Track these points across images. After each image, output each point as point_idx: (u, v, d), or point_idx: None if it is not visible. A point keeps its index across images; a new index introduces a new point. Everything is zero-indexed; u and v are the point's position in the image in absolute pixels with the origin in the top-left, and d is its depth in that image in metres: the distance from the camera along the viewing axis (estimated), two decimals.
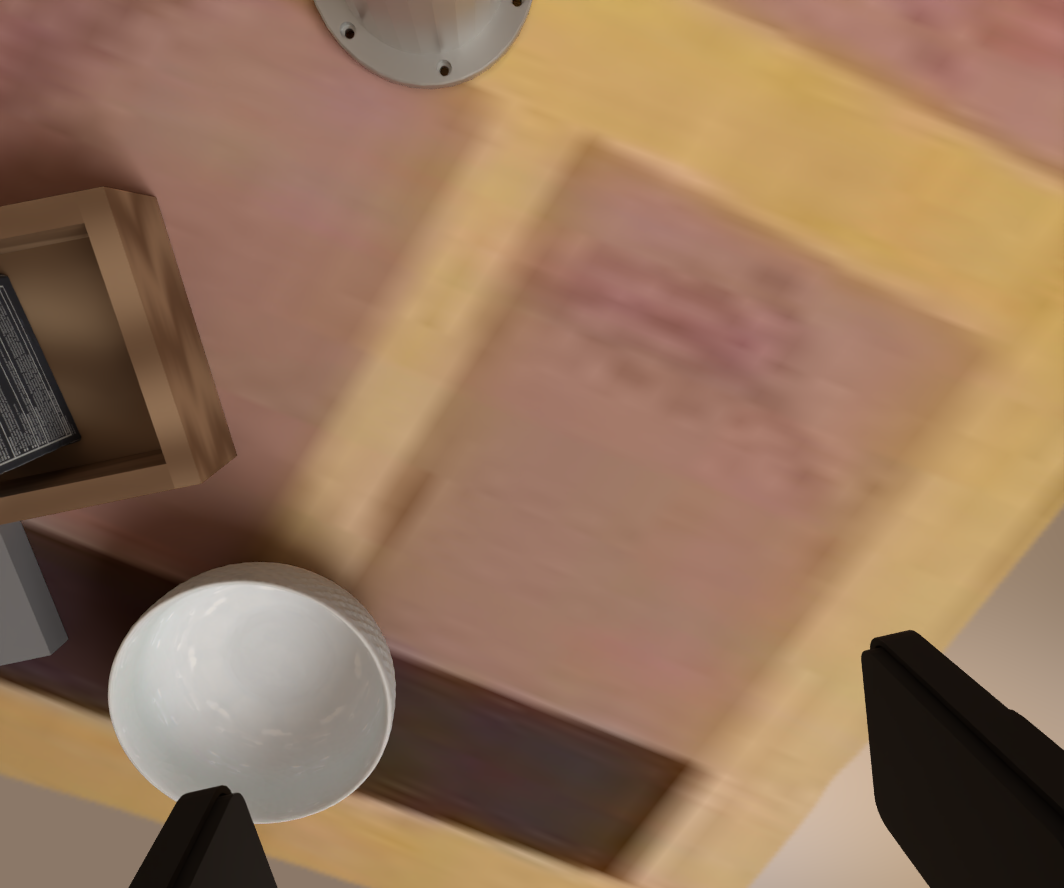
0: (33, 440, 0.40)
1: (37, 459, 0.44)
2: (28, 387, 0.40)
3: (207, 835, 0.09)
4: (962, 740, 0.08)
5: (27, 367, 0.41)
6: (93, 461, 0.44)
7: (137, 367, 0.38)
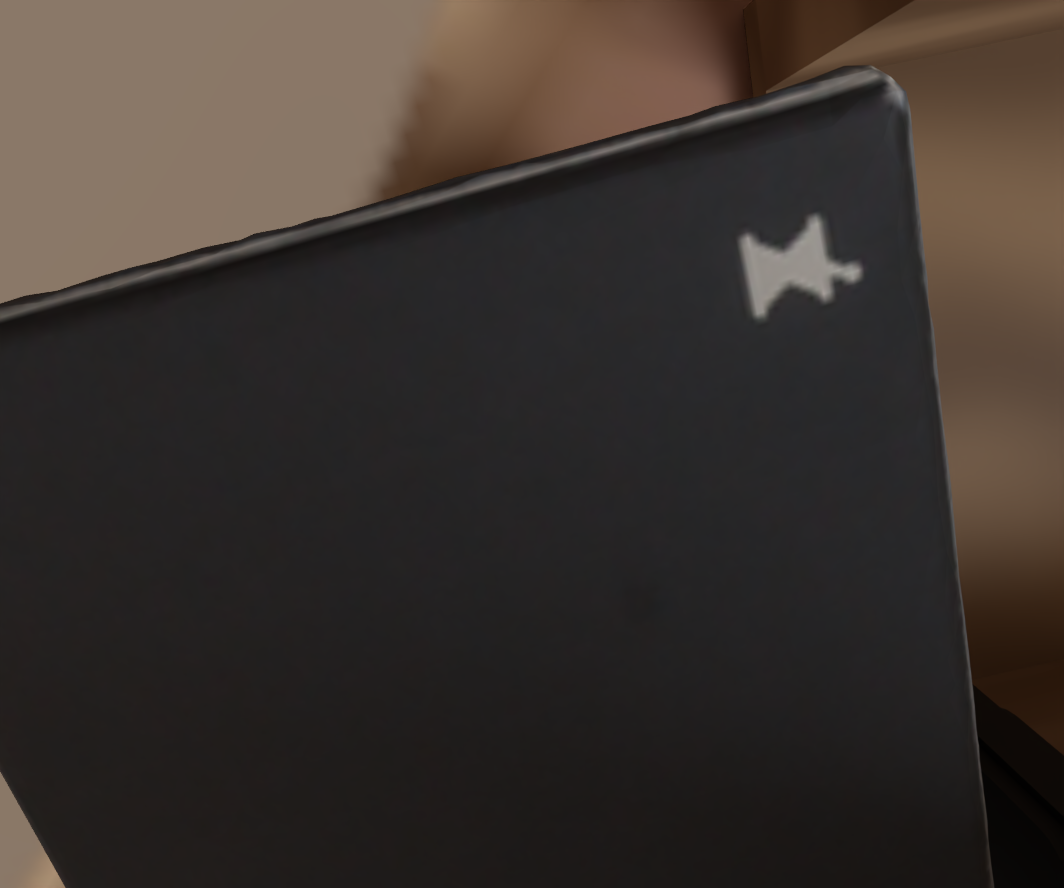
0: None
1: None
2: None
3: None
4: None
5: None
6: None
7: None
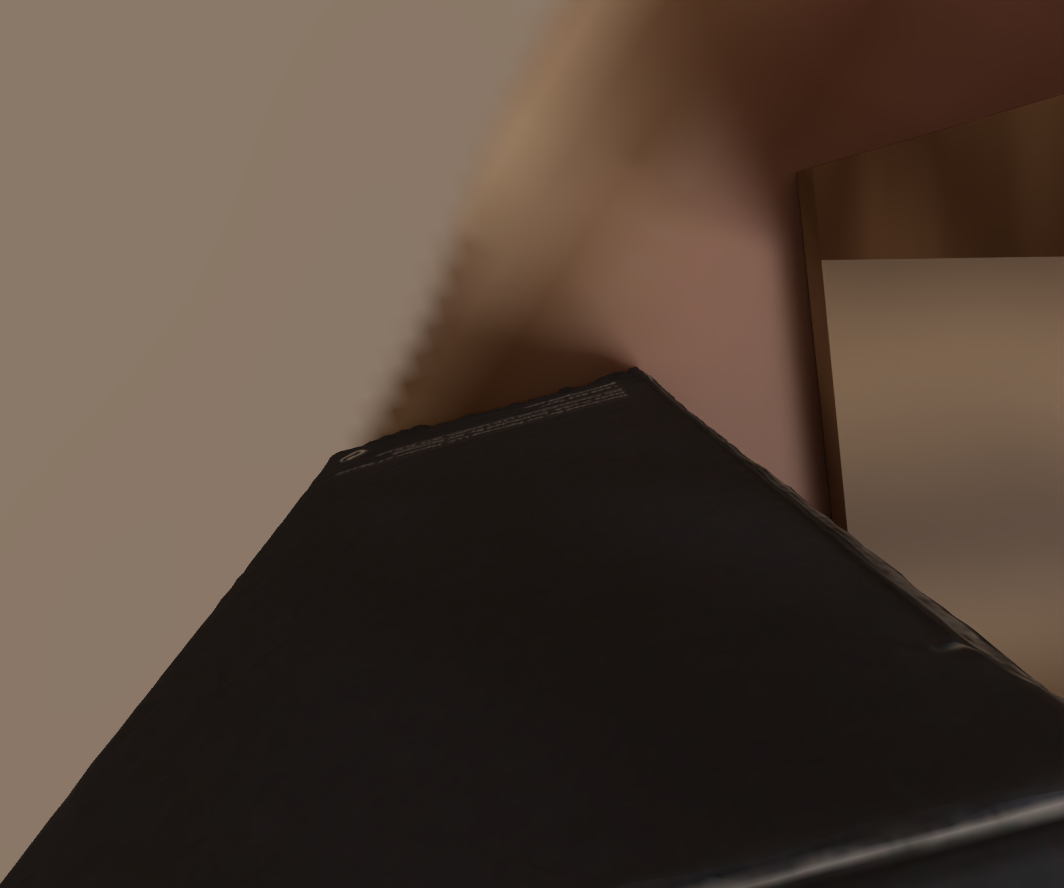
0: None
1: None
2: None
3: None
4: None
5: None
6: None
7: None
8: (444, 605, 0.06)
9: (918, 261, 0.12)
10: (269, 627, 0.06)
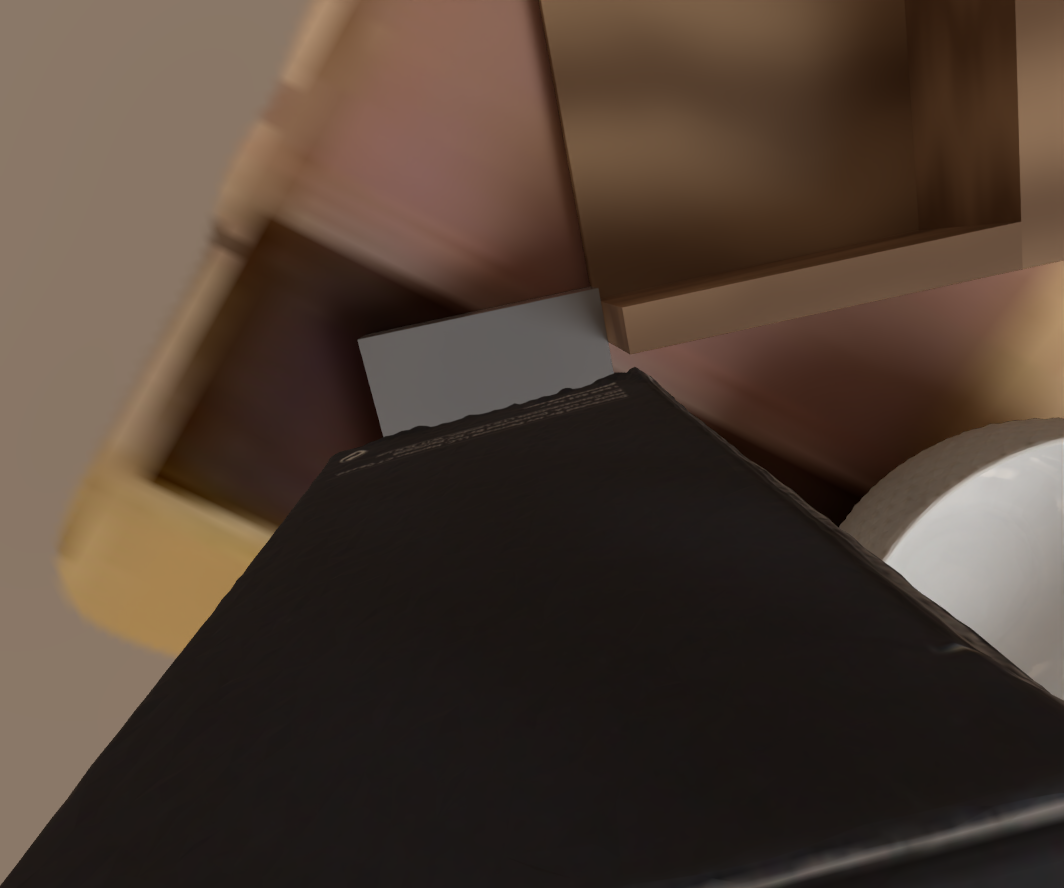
0: None
1: (662, 261, 0.27)
2: None
3: None
4: None
5: None
6: (747, 265, 0.28)
7: (1023, 33, 0.21)
8: (444, 607, 0.06)
9: None
10: (269, 628, 0.06)
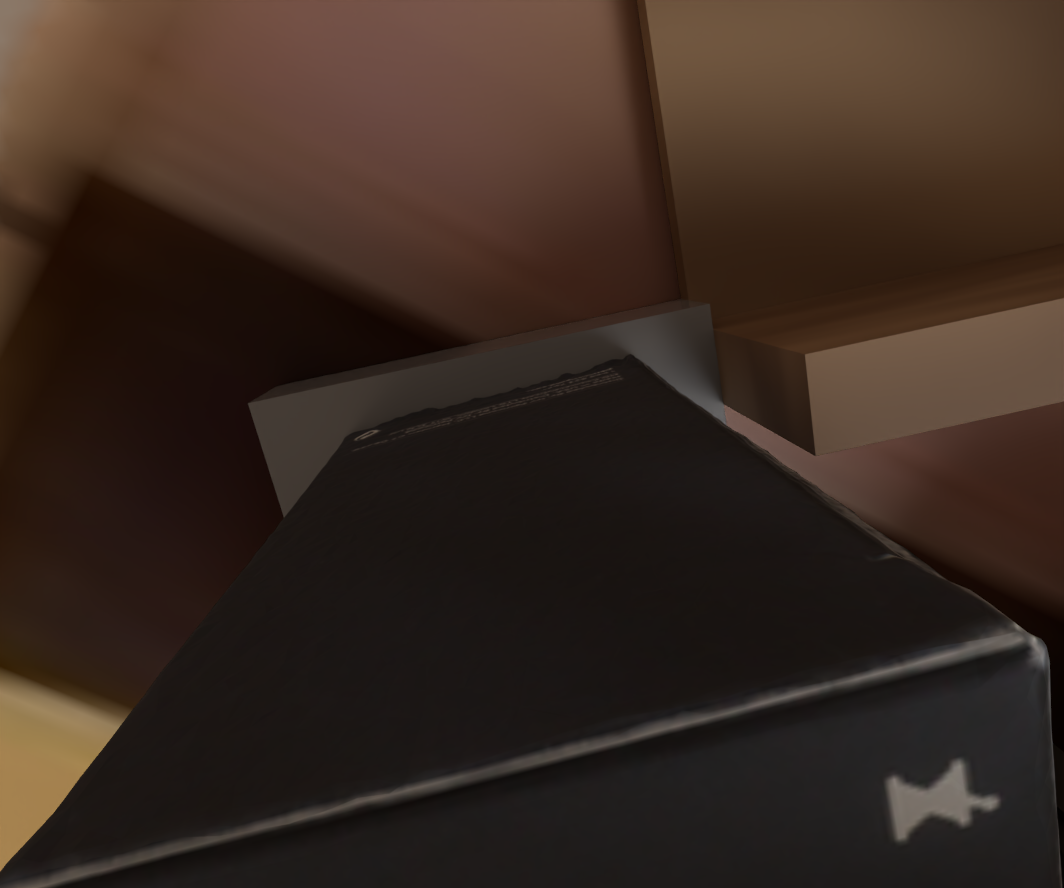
0: None
1: (816, 253, 0.15)
2: None
3: None
4: None
5: None
6: (968, 260, 0.15)
7: None
8: (461, 546, 0.07)
9: None
10: (305, 568, 0.07)
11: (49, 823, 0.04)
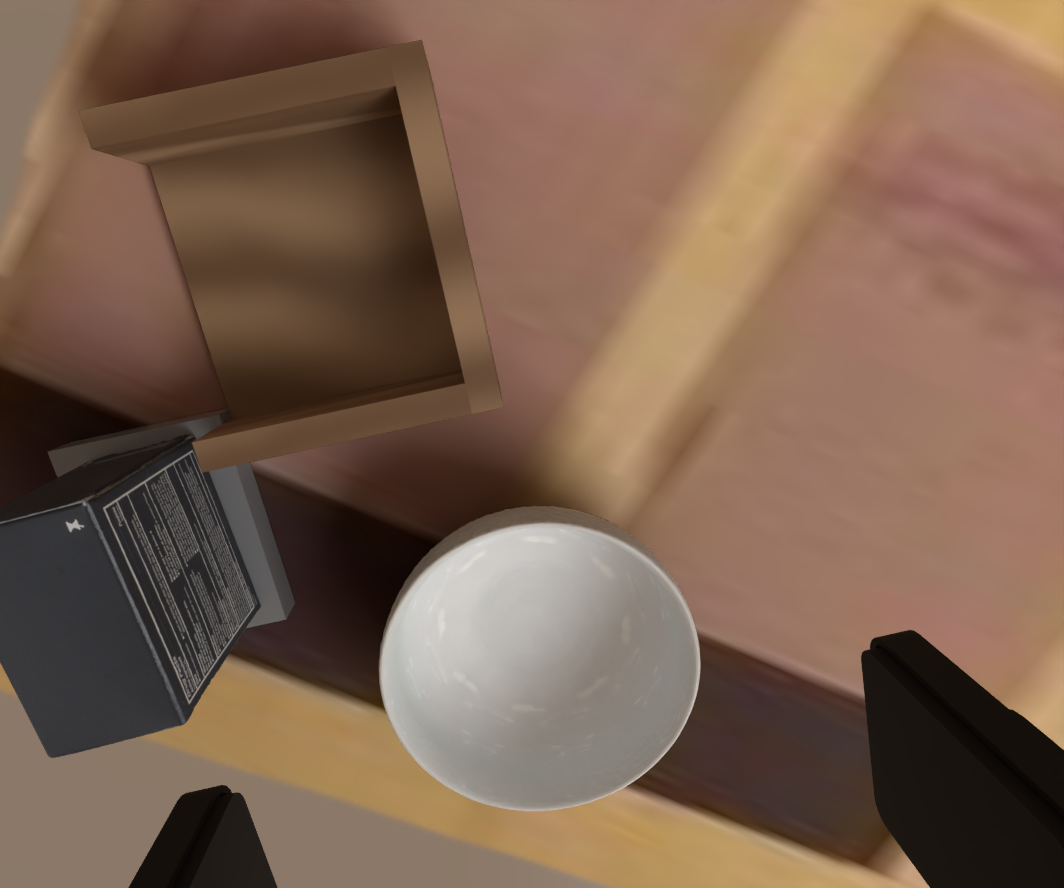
0: (228, 629, 0.35)
1: (278, 391, 0.38)
2: (221, 566, 0.36)
3: (207, 835, 0.09)
4: (962, 740, 0.08)
5: (218, 541, 0.36)
6: (341, 393, 0.38)
7: (442, 265, 0.32)
8: (48, 494, 0.30)
9: (184, 167, 0.35)
10: (19, 500, 0.30)
11: None
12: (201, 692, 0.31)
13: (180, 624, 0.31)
